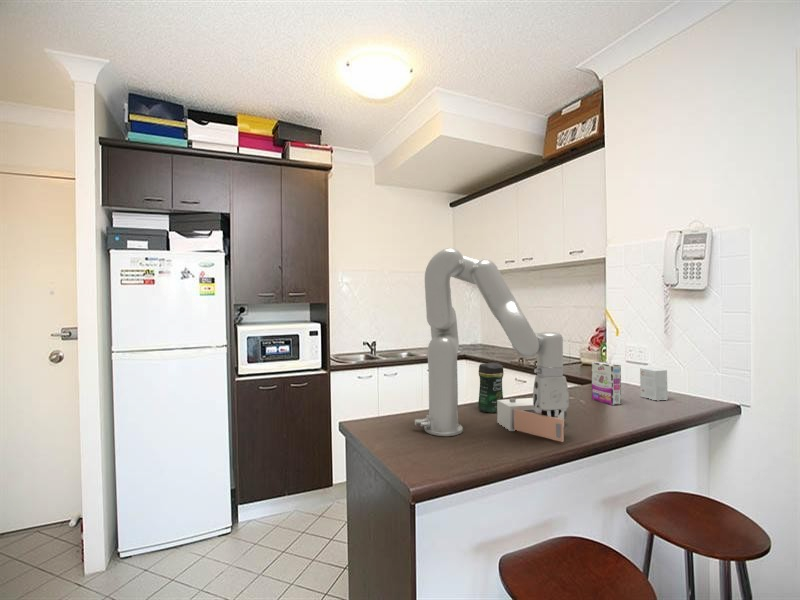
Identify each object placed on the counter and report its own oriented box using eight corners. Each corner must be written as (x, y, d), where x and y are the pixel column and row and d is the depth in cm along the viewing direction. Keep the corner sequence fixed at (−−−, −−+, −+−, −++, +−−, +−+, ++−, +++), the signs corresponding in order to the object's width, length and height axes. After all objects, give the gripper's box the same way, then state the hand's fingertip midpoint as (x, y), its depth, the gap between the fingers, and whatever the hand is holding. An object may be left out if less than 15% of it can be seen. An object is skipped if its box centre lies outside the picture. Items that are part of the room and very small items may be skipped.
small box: (668, 400, 164) (667, 370, 164) (655, 401, 162) (655, 370, 162) (651, 396, 172) (651, 367, 172) (640, 397, 170) (639, 367, 170)
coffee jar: (489, 414, 144) (488, 365, 145) (475, 409, 151) (474, 362, 151) (507, 410, 149) (507, 363, 149) (493, 406, 156) (492, 360, 156)
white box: (510, 431, 125) (509, 403, 125) (497, 422, 134) (497, 397, 134) (569, 426, 129) (569, 399, 130) (553, 418, 138) (553, 393, 139)
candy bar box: (622, 404, 157) (621, 364, 158) (612, 405, 156) (612, 365, 156) (600, 398, 168) (599, 361, 168) (591, 399, 166) (590, 361, 167)
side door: (510, 429, 124) (510, 409, 124) (513, 428, 125) (513, 408, 125) (561, 442, 112) (561, 420, 112) (563, 441, 113) (563, 419, 113)
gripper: (535, 375, 114) (535, 436, 114) (578, 373, 117) (579, 433, 117) (522, 370, 122) (522, 428, 121) (563, 369, 125) (563, 425, 124)
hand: (550, 430), depth 119 cm, fingers closed
